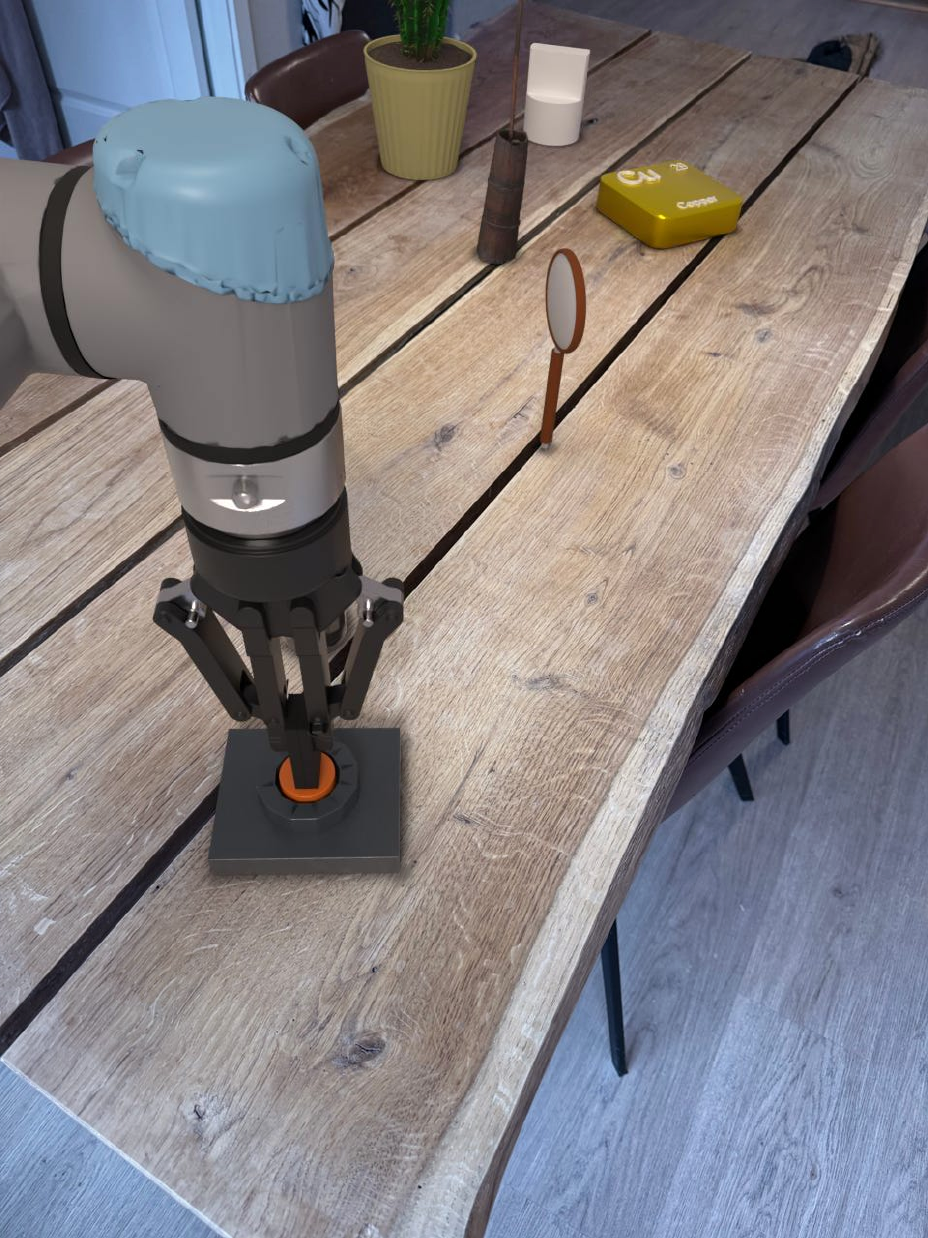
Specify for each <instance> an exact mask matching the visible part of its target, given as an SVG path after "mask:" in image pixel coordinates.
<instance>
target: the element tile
mask: <svg viewBox="0 0 928 1238" xmlns="http://www.w3.org/2000/svg"><path fill="white" fill-rule="evenodd" d="M743 204H744V198H743V196H742V195H740V194H739V192H736V191H734V190H733V189H731V188H730V187H728V186H726V185H725V184H723V183H721V182H719V181H718V180H716V179H714V178H713V177H711V176H709V175H708V174H706V173H705V172H703V171H701V170H700V169H698V168H696V167H694V166H693V165H692V164H690V163H688V162H686V161H685V160H684V161H683V160H681V159H674V160H668V161H663V162H658V163H653V164H648V165H642V166H637V167H633V168H627V169H623V170H618V171H614V172H613V171H612V172H608V173H604V174H603V175H601V176H600V180H599V186H598V192H597V200H596V208H597V210H598V212H600V213H601V214H602V215H604V216H605V217H607V218H608V219H610V220H611V221H612V222H613V223H615V224H617V225H618V226H619V227H621V228H622V229H624V230H625V231H626V232H628V233H629V234H631V235H632V236H633V237H635V238H636V239H637V240H639V241H640V242H641V243H643V244H644V245H646V246H648V247H650V248H653V249H658V250H664V249H670V248H674V247H679V246H682V245H686V244H691V243H694V242H699V241H703V240H707V239H711V238H715V237H719V236H720V237H721V236H723V235H728V234H731V233H733V232H734V231H735V230H736V229H737V226H738V222H739V218H740V215H741V211H742V207H743Z"/></svg>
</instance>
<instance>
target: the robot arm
mask: <svg viewBox="0 0 928 1238" xmlns="http://www.w3.org/2000/svg"><path fill="white" fill-rule="evenodd" d="M92 163H93V166H88V165H72V164H63V163H55V162H48V161H47V162H45V161H38V160H37V161H36V160H29V159H28V160H27V159H21V158H20V159H18V158H11V157H10V158H9V157H0V412H1V411H2V410H3V408H4V407H5V406H6V405H7V403H8V402H9V401H10V399H11V398H12V397H13V396H14V395H15V393H16V392H17V391H18V389H19V388H20V387H21V385H22V384H23V383H24V382H25V380H26V379H27V378H28V377H29V376H32V375H35V374H44V375H45V374H47V375H58V376H69V377H70V376H71V377H82V378H88V379H97V380H107V381H110V380H111V381H113V380H117V379H120V380H128V381H139V382H141V383H144V384H146V386H147V389H148V392H149V395H150V398H151V401H152V405H153V407H154V409H155V413H156V418H157V421H158V427H159V429H160V433H161V436H162V437H161V438H162V440H163V445H164V448H165V453H166V456H167V460H168V464H169V468H170V472H171V477H172V479H173V483H174V487H175V490H176V496H177V499H178V501H179V503H180V512H181V517H182V521H183V526H184V530H185V533H186V537H187V542H188V545H189V549H190V553H191V556H192V562H193V566H192V572H193V573H192V575H191V577H189V578H187V579H185V580H183V581H182V580H180V579H179V578H176V577H166V578H164V579H162V581H161V583H160V587H159V591H158V594H157V598H156V602H155V606H154V611H153V615H152V622H153V623H154V624H155V625H156V626H158V627H159V628H160V629H161V630H163V631H164V632H166V633H167V634H168V635H170V636H171V637H173V639H175V640H176V641H178V642H179V643H180V645H181V646H182V647H183V649H184V650H185V652H186V653H187V655H188V656H189V658H190V660H191V661H192V662H193V664H194V665H195V667H196V668H197V669H198V671H199V672H200V674H201V677H203V679H204V680H205V682H206V683H207V685H208V686H209V687H210V689H211V690H212V692H213V693H214V695H215V696H216V698H217V699H218V701H219V703H220V704H221V705H222V707H223V708H224V710H225V711H226V713H227V714H228V715H229V717H230V718H231V719H232V720H233V721H235V722H240V723H242V722H243V723H245V722H248V721H250V720H251V719H252V718H255V719H259V720H261V721H262V723H263V724H264V725H265V727H266V729H267V732H268V737H269V741H270V746H271V748H272V749H273V750H274V751H288V754H289V759H290V765H291V770H292V775H293V781H294V786H295V789H318V788H319V775H320V763H321V751H324V750H331V749H332V747H333V742H334V728H336V727H335V720H334V719H335V718H338V717H339V718H340V719H342V720H345V721H355V720H358V718H359V717H360V715H361V712H362V709H363V706H364V703H365V700H366V697H367V695H368V691H369V688H370V685H371V682H372V679H373V677H374V673H375V671H376V667H377V664H378V661H379V658H380V655H381V653H382V649H383V648H384V647H383V646H384V643H385V641H386V640H387V639H388V638H389V637H390V636H391V635H393V633H394V632H395V631H396V630H397V629H398V628H399V627H400V626H401V625H402V624H403V622H404V618H405V617H404V616H405V615H404V613H405V612H404V611H405V583H404V582H403V580H402V579H400V578H398V577H386V578H385V579H384V580H382V581H381V582H379V581H377V580H375V579H373V578H370V577H368V576H365V575H364V569H363V565H362V563H361V562H360V561H359V559H358V558H357V557H356V556H355V554H354V553H353V551H352V544H351V543H352V542H351V529H350V528H351V527H350V514H349V513H350V512H349V500H348V491H347V486H346V481H347V474H346V473H347V471H346V457H345V456H346V455H345V442H344V441H345V440H344V423H343V408H342V403H341V401H340V392H339V390H340V389H339V380H338V362H337V361H338V359H337V344H336V343H337V342H336V324H335V323H336V321H335V299H334V298H335V297H334V273H333V272H334V270H335V252H334V250H333V247H332V245H333V243H332V241H331V238H330V237H329V234H328V233H329V232H328V224H327V218H326V210H325V203H324V201H325V200H324V194H323V186H322V178H321V171H320V163H319V158H318V155H317V152H316V149H315V147H314V145H313V143H312V141H311V140H310V138H309V136H308V135H307V134H306V132H305V131H304V129H303V128H302V127H301V126H300V125H298V124H297V123H296V122H295V121H294V120H293V119H291V118H290V117H289V116H287V115H285V114H283V113H282V112H280V111H278V110H276V109H274V108H272V107H270V106H267V105H264V104H260V103H257V102H254V101H250V100H245V99H240V98H234V97H225V96H206V95H205V96H200V97H197V98H195V99H187V100H182V99H175V98H166V99H159V100H153V101H149V102H146V103H142V104H139V105H136V106H133V107H130V108H128V109H126V110H124V111H122V112H120V113H118V114H116V115H114V116H113V117H111V118H110V119H109V120H108V121H107V122H105V123H104V124H103V126H102V127H101V128H100V129H99V131H98V133H97V134H96V136H95V139H94V141H93V144H92ZM354 602H356V603H357V608H356V614H357V617H358V621H357V625H356V627H355V631H354V634H353V638H352V640H351V644H350V648H349V652H348V654H347V658H346V660H345V661H346V662H345V665H344V668H343V671H342V674H341V679H340V683H337V684H333V685H332V681H331V680H332V679H331V674H330V673H331V672H330V663H329V656H328V652H327V645H326V637H325V630H326V629H327V628H328V627H329V626H330V625H331V624H332V623H333V622H334V621H335V620H336V619H337V618H338V617H339V616H340V615H341V614H342V613H343V612H344V611H345V610H346V611H347V609H348V608H349V607H350V606H352V604H353V603H354ZM216 614H217V616H219V617H220V618H222V619H223V620H225V621H226V622H227V623H229V624H230V625H231V626H233V627H234V628H235V629H237V630H238V631H240V632H241V635H242V640H243V645H244V650H245V654H246V657H248V658H249V660H250V666H251V671H252V673H251V672H250V670H249V668H248V667H247V665H246V663H245V662H244V659H243V658H242V657H241V655H240V653H239V652H238V650H237V648H236V647H235V645H234V643H233V642H232V639H230V636H229V635H228V634H227V632H226V630H225V629H224V627H223V625H222V624H221V622H220V621H219V619H218V617H217V616H216ZM282 637H290V638H294V644H295V651H296V652H295V651H294V652H295V656H296V657H297V658H298V663H299V670H300V676H301V677H300V678H301V684H302V690H303V693H288V689H289V681H290V679H289V678H287V676H286V670H285V669H286V668H285V663H284V658H283V651H282V645H281V640H280V638H282Z"/></svg>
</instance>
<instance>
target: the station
mask: <svg viewBox="0 0 928 1238" xmlns="http://www.w3.org/2000/svg"><path fill="white" fill-rule="evenodd" d="M401 731H402V730H401V727H335V728H334V742H333V747H332V749H331V750H324V751H321V753H323V754H325V755H327V756H328V757H329V758H330V759H331V761H332V762H333V764H334V767H335V774H336V783H337V786H336V787H335V789H334V790H333V791H332V793H331V794H330V795H329V796H328V797H325V798H323V799H321V800H319V801H317V802H315V803H294V802H293V801H291V800H289V799H287V798H285V797H283V794H282V789H281V784H280V779H279V773H280V769H281V767H282V765H283V763H284V762H285V761H286V759H288V758H289V754H288V751H274V750H273V749H272V748H271V746H270V741H269V737H268V732H267V728H229V729H228V732H227V738H226V745H225V751H224V757H223V764H222V769H221V775H220V781H219V788H218V793H217V794H218V795H217V800H216V807H215V813H214V817H213V825H212V831H211V832H212V833H211V838H210V843H209V849H208V856H207V862H208V864H209V867H210V870H211V873H212V875H213V876H217V877H218V876H267V875H268V876H271V875H273V876H274V875H276V876H278V875H279V876H280V875H332V874H333V875H334V874H335V875H338V874H339V875H341V874H342V875H343V874H389V873H390V874H395V873H396V874H398V873H400V871H401V867H400V865H401V864H400V863H401V861H400V860H401V859H400V857H401V855H400V854H401V853H400V852H401V764H402V763H401V761H402V759H401V755H402V754H401V753H402V752H401V751H402V750H401V749H402V740H401V739H402V738H401V736H402V734H401Z"/></svg>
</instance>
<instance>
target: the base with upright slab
mask: <svg viewBox="0 0 928 1238" xmlns="http://www.w3.org/2000/svg"><path fill="white" fill-rule="evenodd" d="M590 54H591V49H587V48H579V47H572V46H571V47H570V46H563V45H554V44H547V43H540V42H539V43H538V42H533V43H532V44H531V45H530V47H529V55H528V57H529V58H528V66H527V67H528V68H527V81H526V92H525V103H524V112H523V113H524V114H523V115H524V116H523V127H522V132H523V131H525V132H526V133H527V137H528V141H530V142H532V143H535V144H538V145H543V146H548V147H549V146H551V147H562V146H563V147H564V146H568V145H572V144H574V143H576V142H578V140H579V139H580V132H581V123H582V117H583V116H582V115H583V107H584V100H585V94H586V93H585V92H586V84H587V77H588V70H589V62H590V56H591V55H590Z"/></svg>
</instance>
